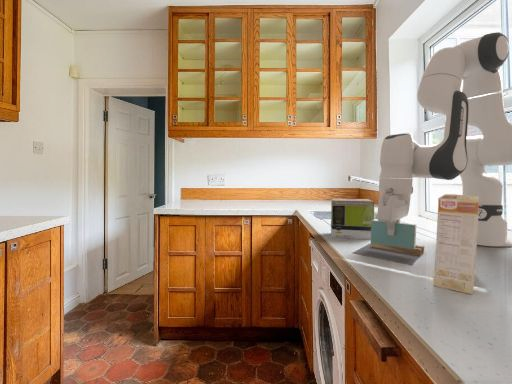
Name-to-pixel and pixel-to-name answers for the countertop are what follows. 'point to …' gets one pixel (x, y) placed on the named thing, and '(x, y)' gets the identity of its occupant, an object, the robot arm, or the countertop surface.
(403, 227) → the tile
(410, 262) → the mat
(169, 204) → the countertop surface
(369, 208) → the tea box
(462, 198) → the coffeecake box
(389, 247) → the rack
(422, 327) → the countertop surface
